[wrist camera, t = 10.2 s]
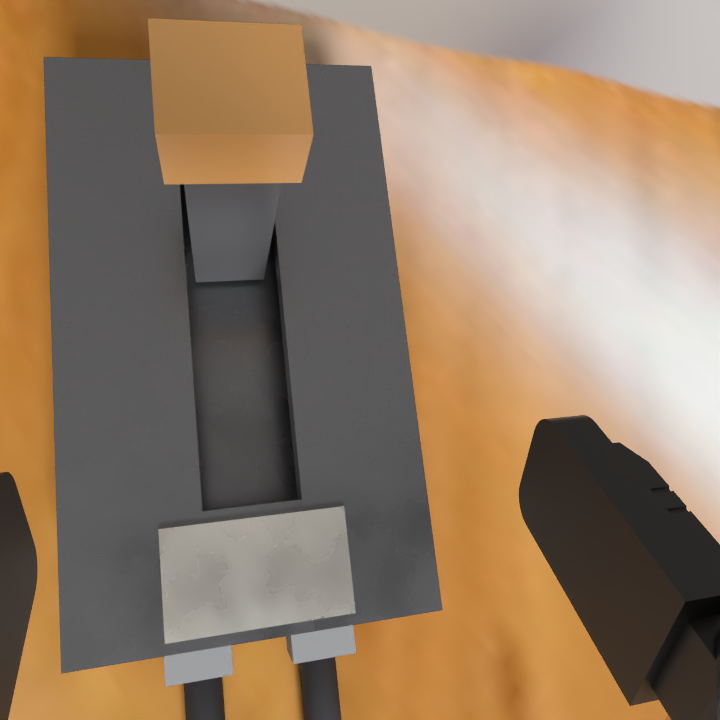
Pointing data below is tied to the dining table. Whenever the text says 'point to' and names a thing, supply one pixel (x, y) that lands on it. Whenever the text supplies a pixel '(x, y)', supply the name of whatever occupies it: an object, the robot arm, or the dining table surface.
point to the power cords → (308, 649)
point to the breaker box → (226, 390)
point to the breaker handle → (230, 132)
